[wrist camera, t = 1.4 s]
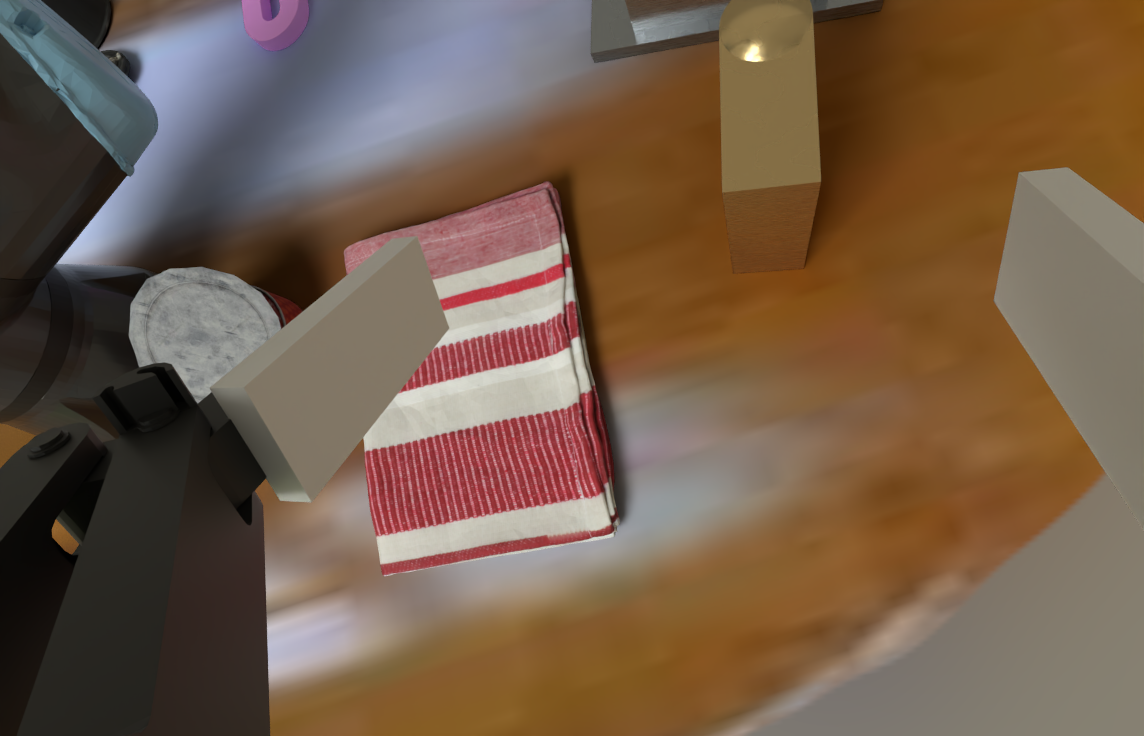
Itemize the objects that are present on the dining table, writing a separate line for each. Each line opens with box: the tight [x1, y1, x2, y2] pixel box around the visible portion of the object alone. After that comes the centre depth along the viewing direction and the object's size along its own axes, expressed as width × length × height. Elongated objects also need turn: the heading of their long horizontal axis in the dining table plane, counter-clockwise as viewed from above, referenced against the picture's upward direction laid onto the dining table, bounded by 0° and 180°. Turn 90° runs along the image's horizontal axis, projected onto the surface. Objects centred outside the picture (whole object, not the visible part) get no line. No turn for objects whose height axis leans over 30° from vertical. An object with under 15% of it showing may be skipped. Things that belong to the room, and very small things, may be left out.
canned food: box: [129, 267, 303, 404], centre depth 44 cm, size 11×10×10 cm
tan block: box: [719, 0, 821, 274], centre depth 32 cm, size 4×10×11 cm, turn 178°
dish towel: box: [344, 181, 620, 576], centre depth 40 cm, size 17×23×3 cm
